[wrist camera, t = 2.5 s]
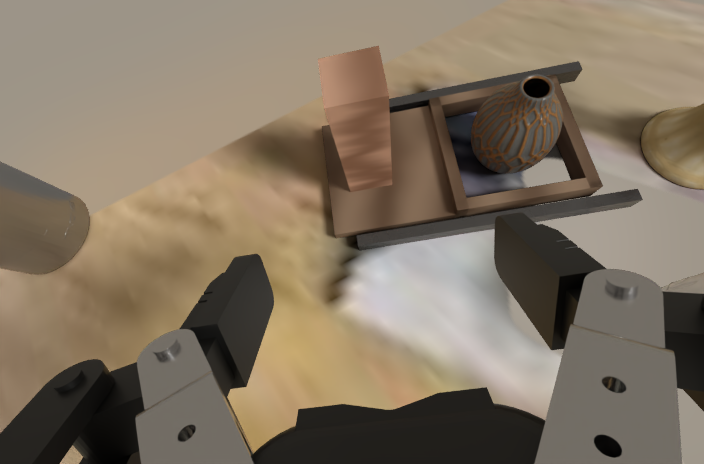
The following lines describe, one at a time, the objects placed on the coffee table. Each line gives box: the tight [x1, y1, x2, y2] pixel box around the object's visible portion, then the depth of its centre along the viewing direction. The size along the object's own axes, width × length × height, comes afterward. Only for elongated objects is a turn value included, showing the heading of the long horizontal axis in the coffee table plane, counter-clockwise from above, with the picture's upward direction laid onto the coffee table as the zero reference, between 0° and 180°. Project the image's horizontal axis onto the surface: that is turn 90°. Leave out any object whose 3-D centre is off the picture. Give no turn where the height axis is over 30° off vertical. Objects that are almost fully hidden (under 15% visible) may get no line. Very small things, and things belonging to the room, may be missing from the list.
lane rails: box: [357, 61, 642, 250], centre depth 32 cm, size 24×15×2 cm, turn 97°
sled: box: [318, 46, 603, 238], centre depth 26 cm, size 23×12×13 cm, turn 97°
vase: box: [471, 74, 563, 173], centre depth 28 cm, size 7×7×9 cm
